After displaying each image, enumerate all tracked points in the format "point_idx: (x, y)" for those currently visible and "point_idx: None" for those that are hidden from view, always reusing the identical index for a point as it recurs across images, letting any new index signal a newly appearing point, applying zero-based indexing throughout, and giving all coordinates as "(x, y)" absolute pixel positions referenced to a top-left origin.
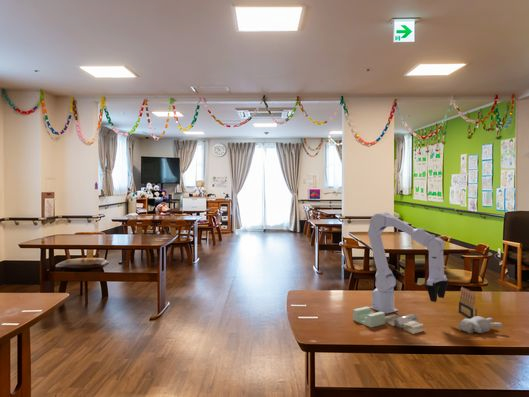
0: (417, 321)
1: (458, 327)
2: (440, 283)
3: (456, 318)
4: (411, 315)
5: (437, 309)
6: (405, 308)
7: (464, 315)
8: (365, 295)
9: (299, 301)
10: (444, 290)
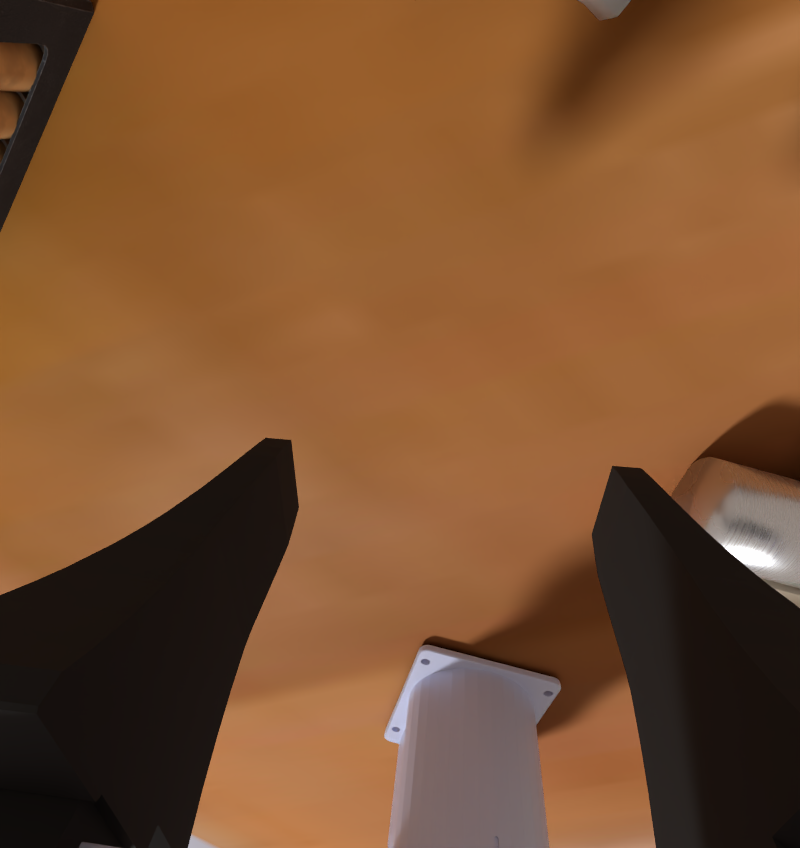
0: (727, 463)
1: (601, 16)
2: (160, 744)
3: (191, 209)
4: (776, 549)
5: (104, 446)
6: (314, 622)
7: (22, 166)
8: (271, 818)
9: None
10: (222, 524)
